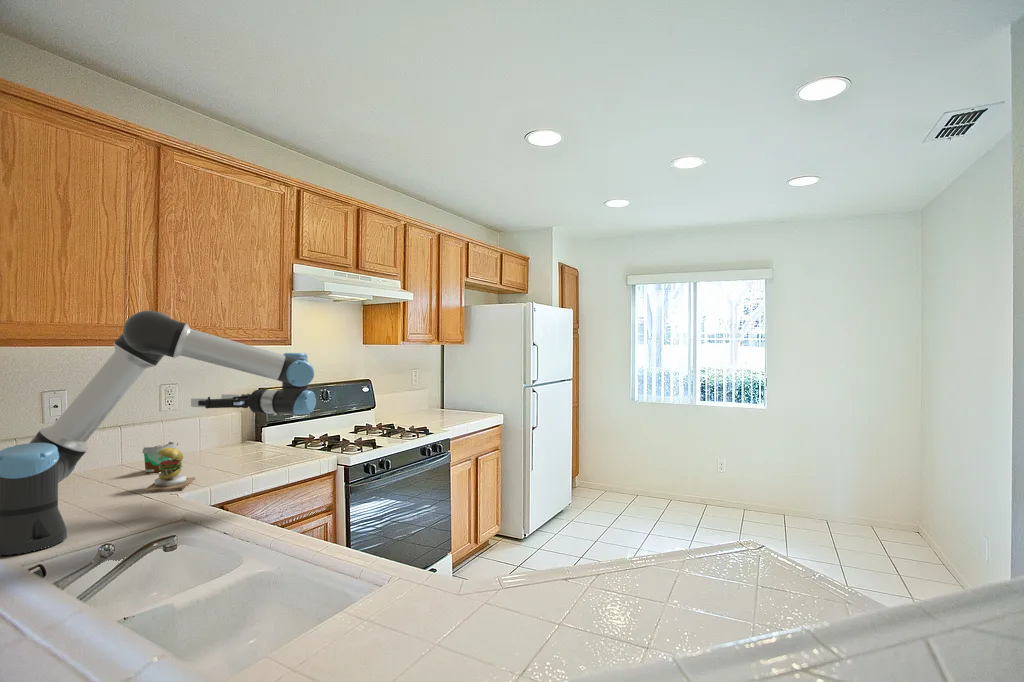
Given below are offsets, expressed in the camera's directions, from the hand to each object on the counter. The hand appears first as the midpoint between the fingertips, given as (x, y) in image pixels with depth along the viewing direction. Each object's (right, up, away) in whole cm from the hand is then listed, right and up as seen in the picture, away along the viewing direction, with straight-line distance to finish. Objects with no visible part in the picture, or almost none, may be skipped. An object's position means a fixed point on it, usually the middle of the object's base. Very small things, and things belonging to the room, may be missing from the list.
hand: (207, 400), depth 175 cm
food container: (-32, -30, +28) cm, 52 cm away
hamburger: (-16, -28, +7) cm, 33 cm away
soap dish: (-16, -30, +7) cm, 35 cm away
